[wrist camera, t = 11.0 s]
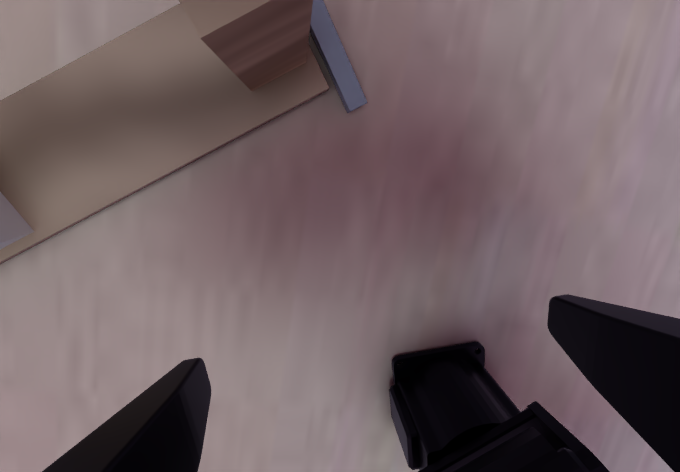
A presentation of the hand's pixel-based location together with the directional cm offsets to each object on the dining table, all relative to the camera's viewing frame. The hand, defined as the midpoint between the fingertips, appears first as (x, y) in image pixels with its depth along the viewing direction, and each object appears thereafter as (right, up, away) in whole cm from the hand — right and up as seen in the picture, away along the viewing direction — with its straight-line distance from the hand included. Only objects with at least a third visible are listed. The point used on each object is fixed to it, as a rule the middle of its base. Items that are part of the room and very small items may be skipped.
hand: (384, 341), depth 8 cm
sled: (-13, +8, +8) cm, 17 cm away
